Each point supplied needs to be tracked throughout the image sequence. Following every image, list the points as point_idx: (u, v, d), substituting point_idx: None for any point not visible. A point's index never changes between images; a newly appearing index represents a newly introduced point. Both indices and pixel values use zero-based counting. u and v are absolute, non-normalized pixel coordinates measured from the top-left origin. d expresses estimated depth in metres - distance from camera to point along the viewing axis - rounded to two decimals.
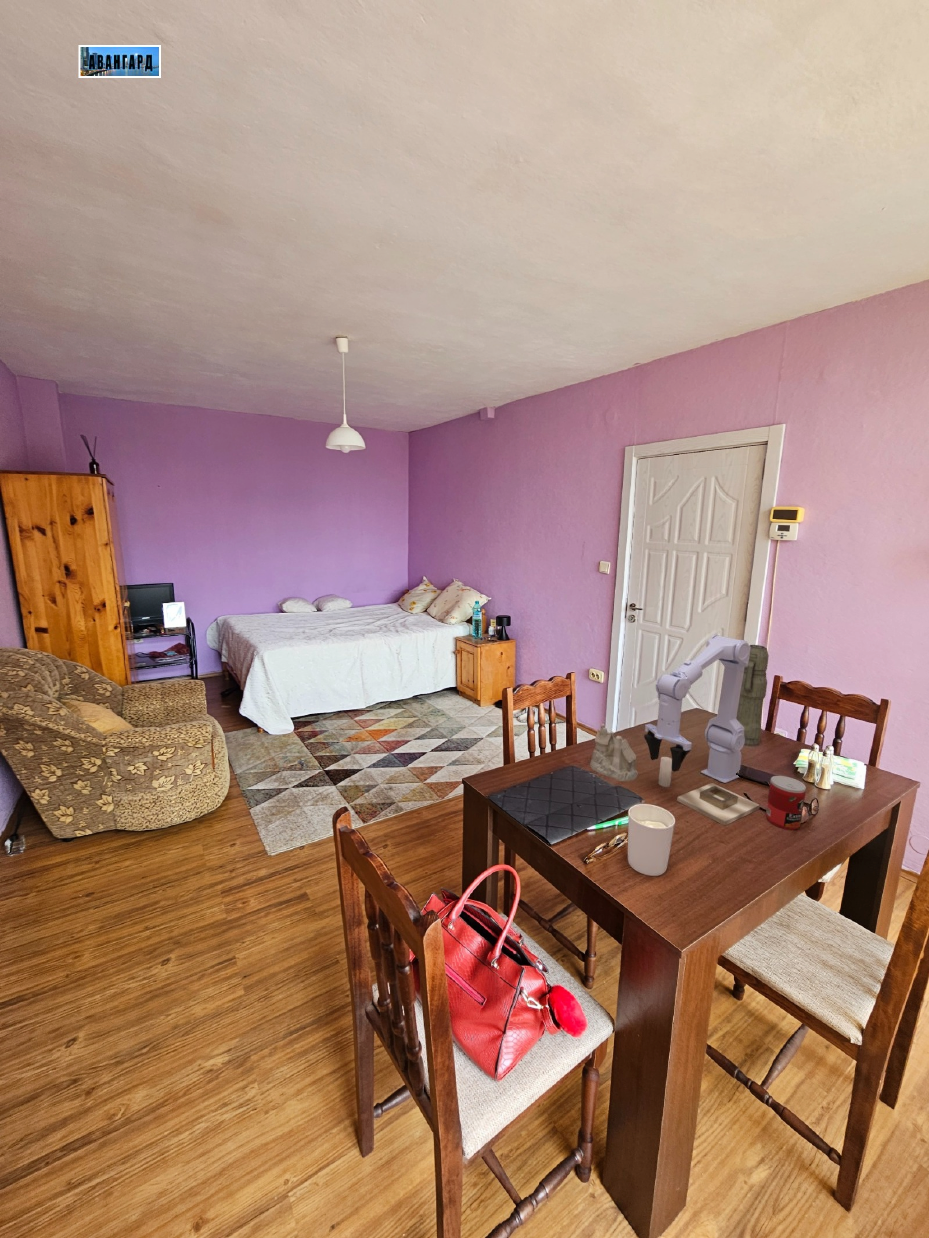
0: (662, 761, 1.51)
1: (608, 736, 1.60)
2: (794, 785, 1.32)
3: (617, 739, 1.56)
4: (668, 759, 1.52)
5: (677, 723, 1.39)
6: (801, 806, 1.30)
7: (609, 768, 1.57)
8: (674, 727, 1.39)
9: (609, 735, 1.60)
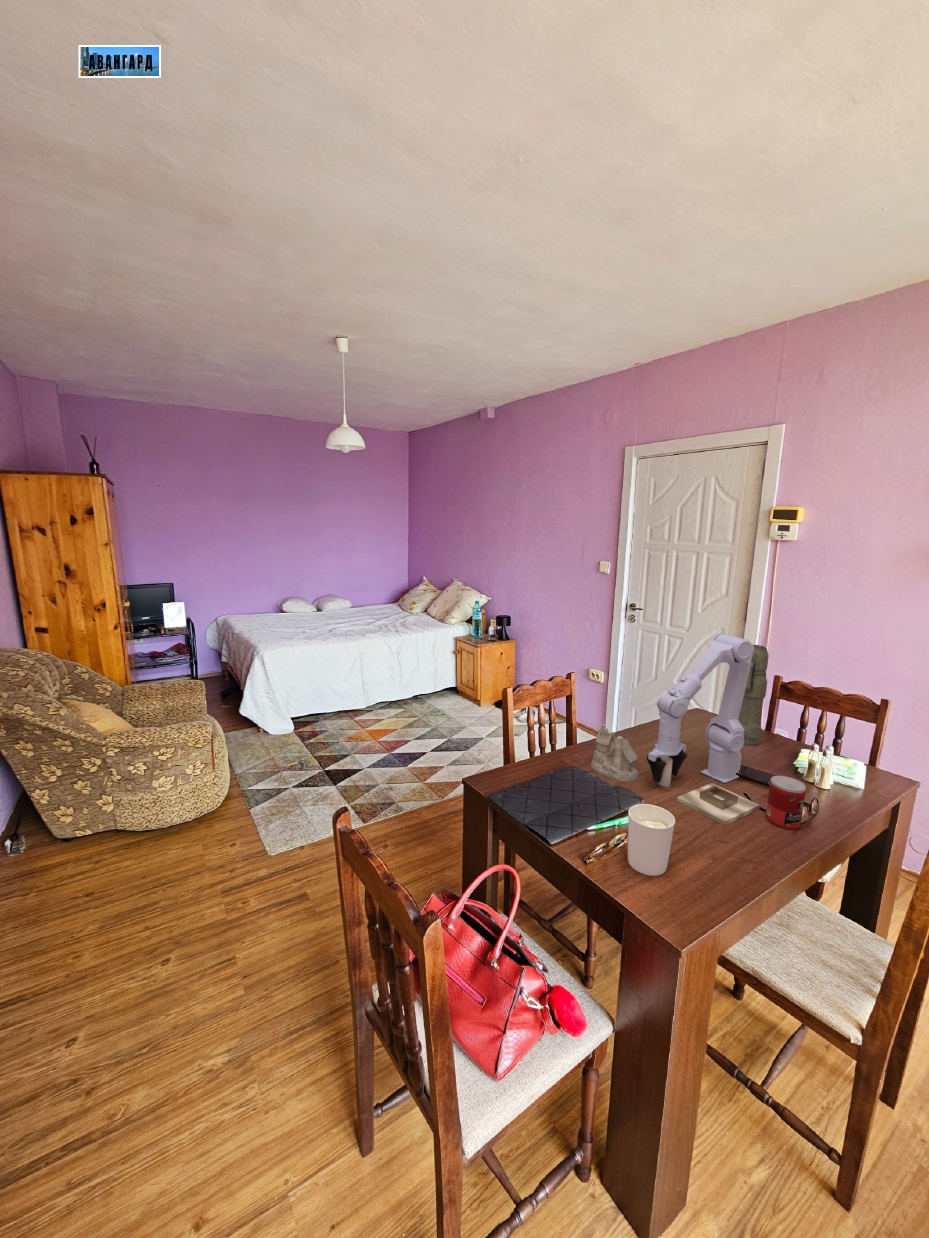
0: None
1: (609, 736, 1.59)
2: (794, 785, 1.32)
3: (618, 739, 1.56)
4: (668, 759, 1.52)
5: (663, 738, 1.49)
6: (801, 806, 1.30)
7: (610, 768, 1.57)
8: (660, 740, 1.50)
9: (610, 735, 1.59)
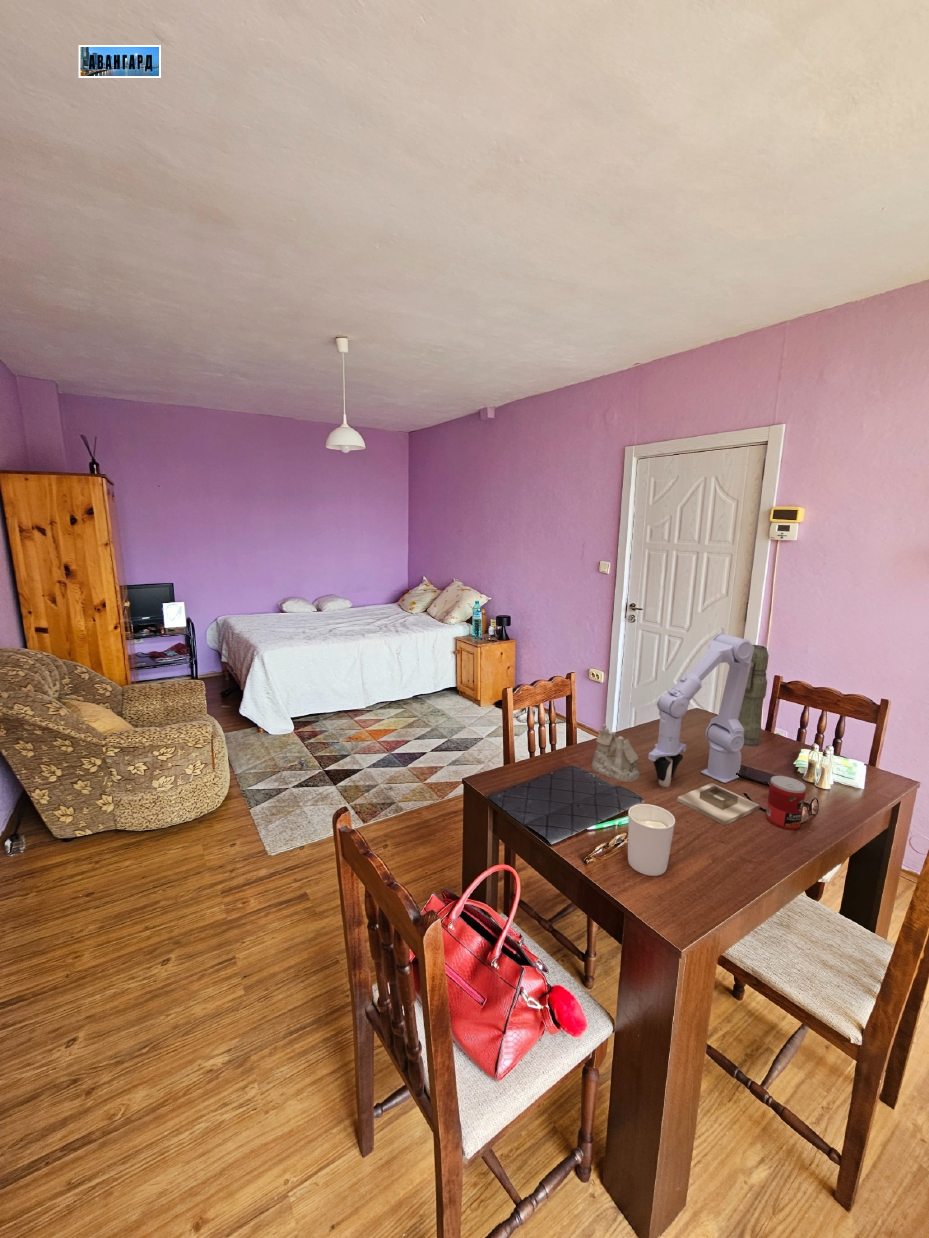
0: None
1: (610, 736, 1.59)
2: (794, 785, 1.32)
3: (619, 739, 1.56)
4: (668, 759, 1.52)
5: (663, 738, 1.49)
6: (801, 806, 1.30)
7: (611, 768, 1.57)
8: (660, 740, 1.50)
9: (611, 735, 1.59)
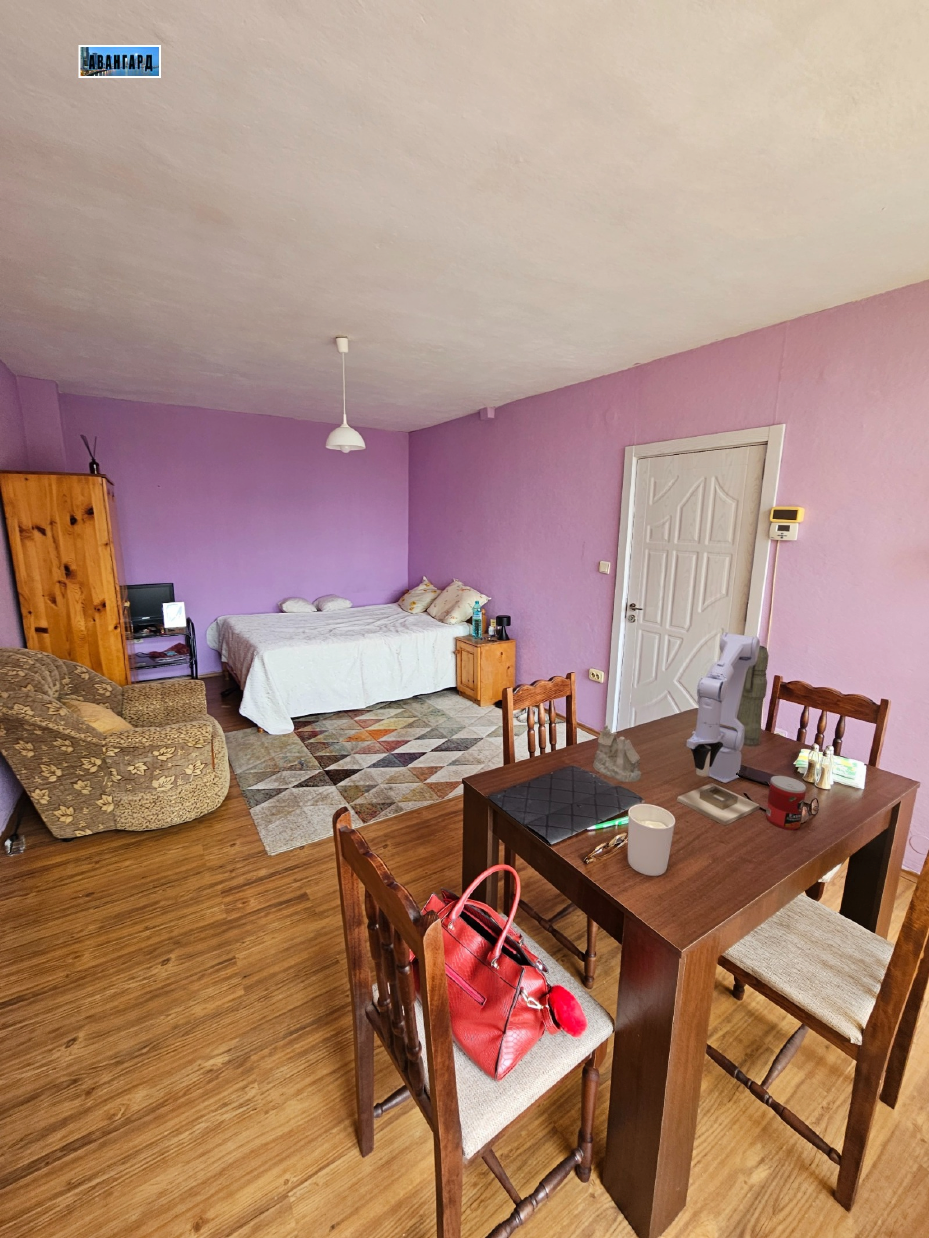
0: None
1: (611, 737, 1.59)
2: (794, 785, 1.32)
3: (620, 740, 1.55)
4: None
5: (702, 724, 1.40)
6: (801, 806, 1.30)
7: (612, 769, 1.57)
8: (699, 726, 1.41)
9: (612, 736, 1.59)
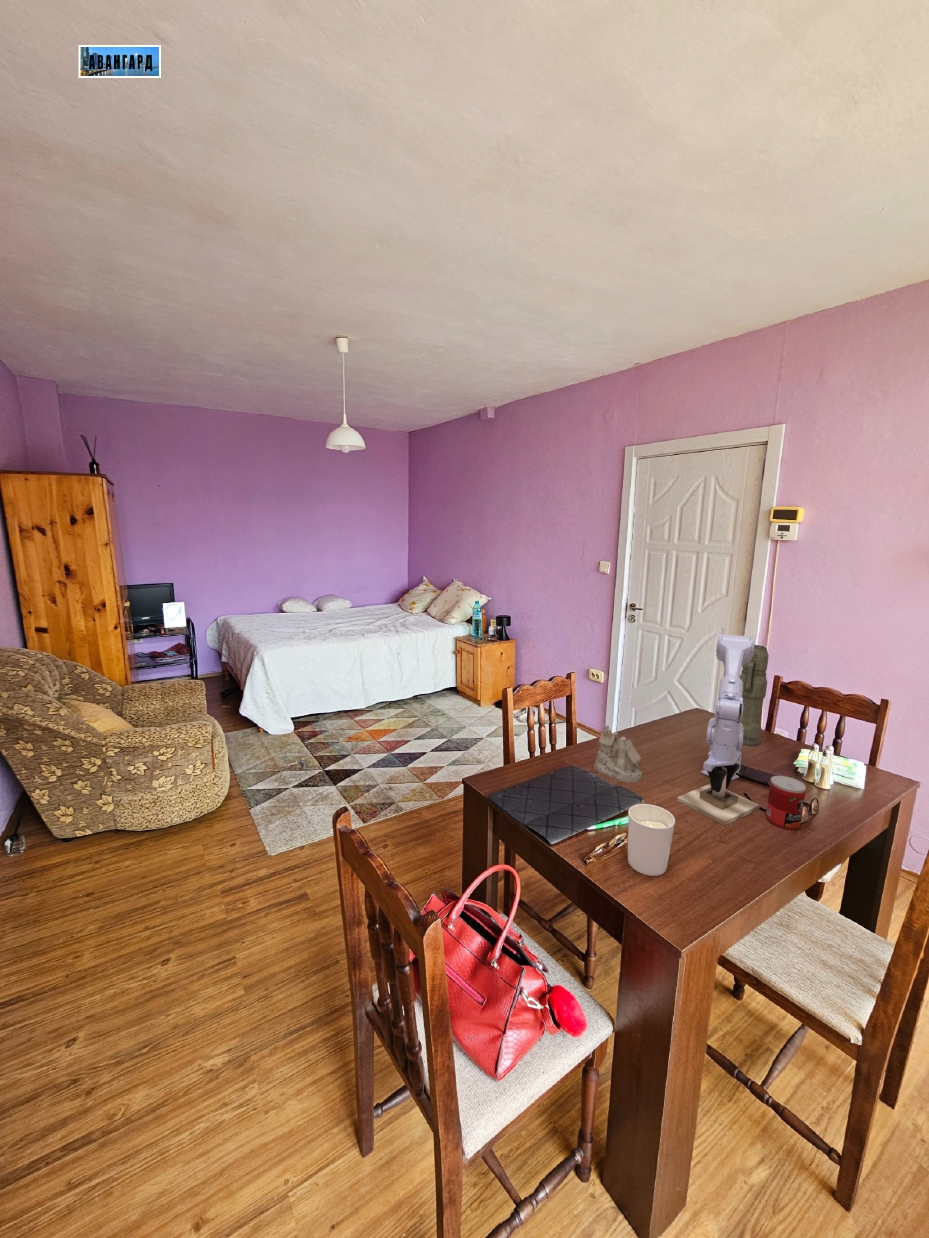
0: None
1: (612, 737, 1.59)
2: (794, 785, 1.32)
3: (622, 740, 1.55)
4: (722, 768, 1.41)
5: (719, 746, 1.38)
6: (801, 806, 1.30)
7: (614, 769, 1.56)
8: (715, 748, 1.38)
9: (613, 736, 1.59)
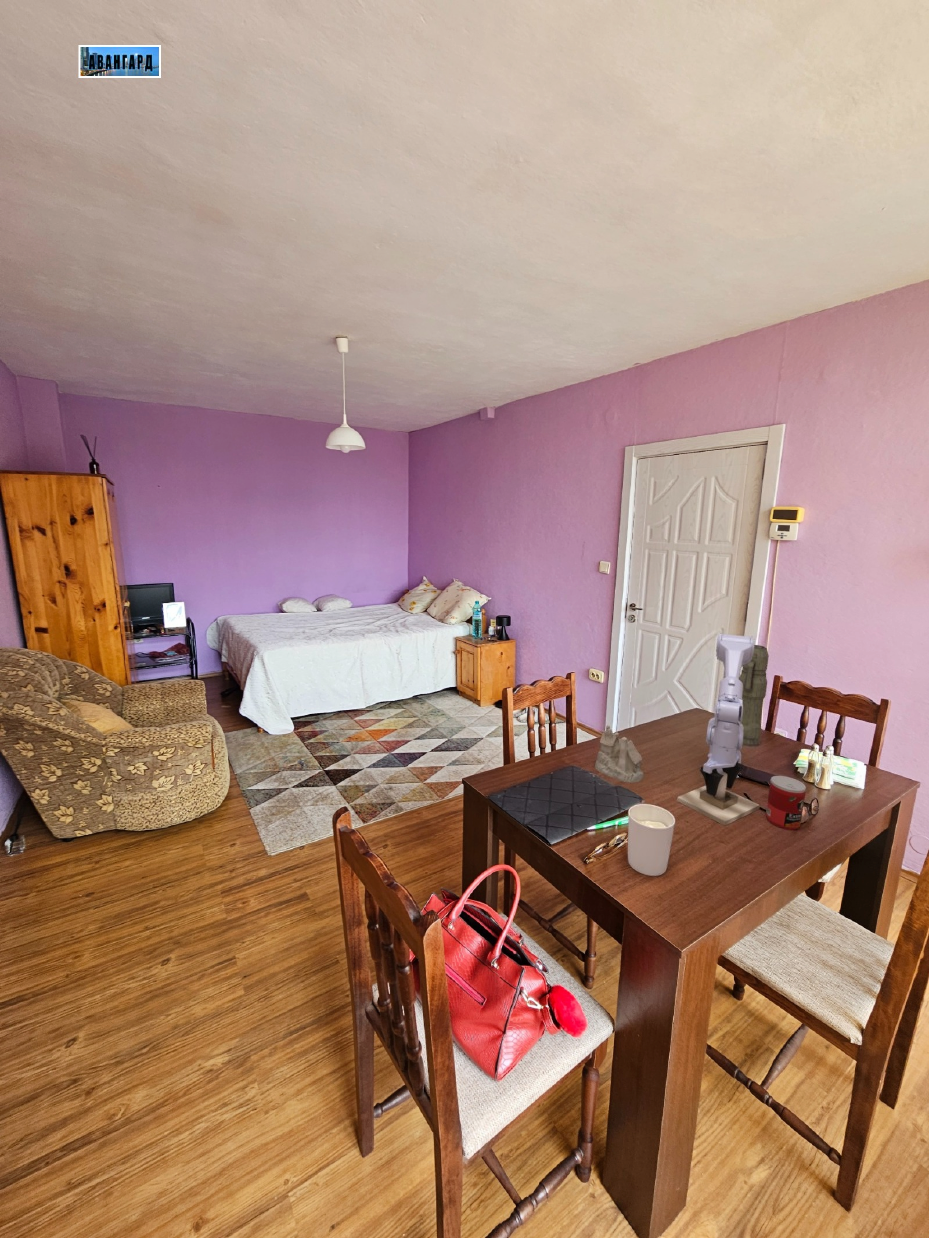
0: None
1: (613, 737, 1.59)
2: (794, 785, 1.32)
3: (623, 740, 1.55)
4: (722, 774, 1.40)
5: (719, 748, 1.38)
6: (801, 806, 1.30)
7: (615, 769, 1.56)
8: (715, 750, 1.39)
9: (614, 736, 1.59)
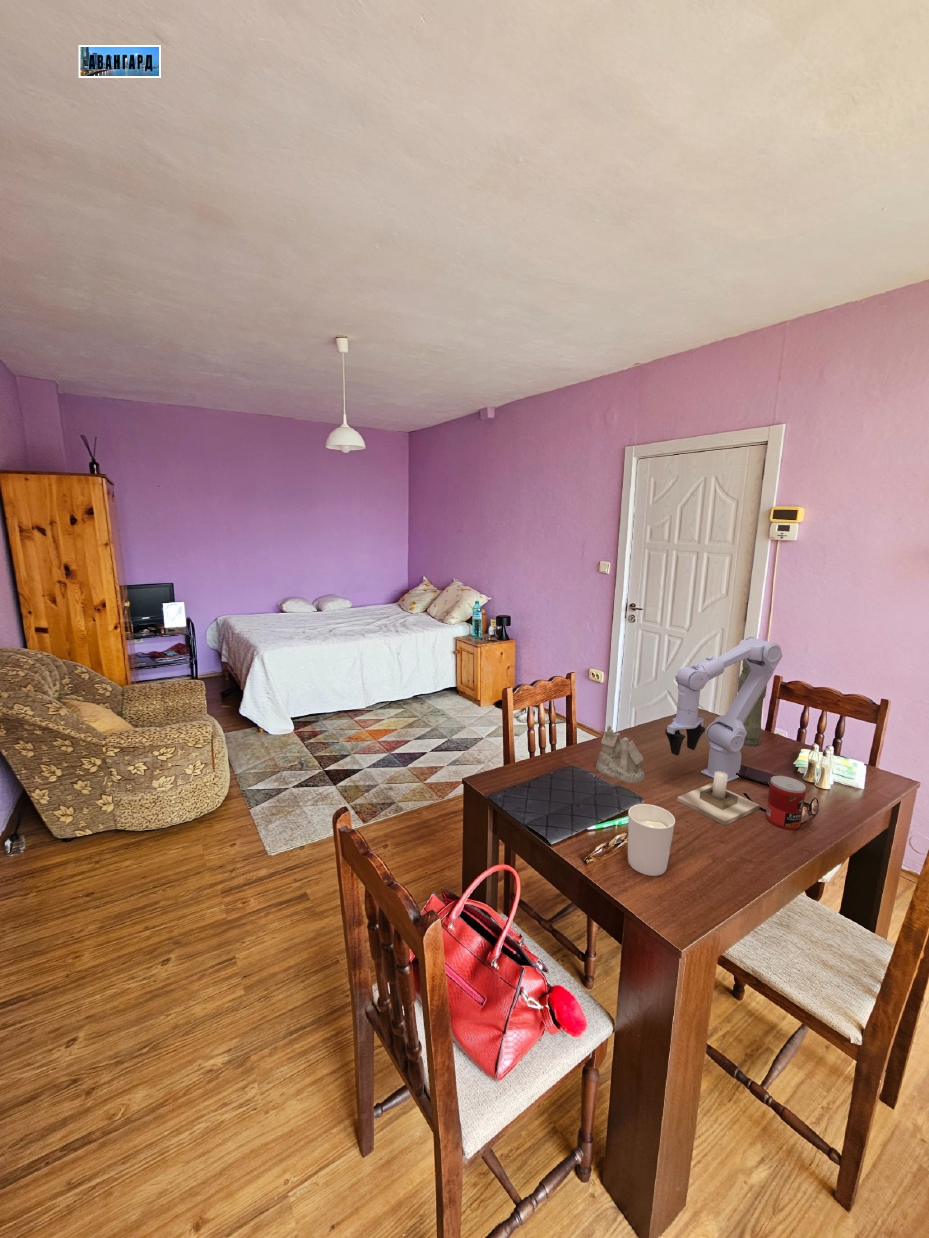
0: (717, 776, 1.40)
1: (615, 738, 1.58)
2: (794, 785, 1.32)
3: (624, 741, 1.55)
4: (723, 774, 1.40)
5: (681, 711, 1.50)
6: (801, 806, 1.30)
7: (616, 770, 1.56)
8: (678, 713, 1.51)
9: (616, 737, 1.58)
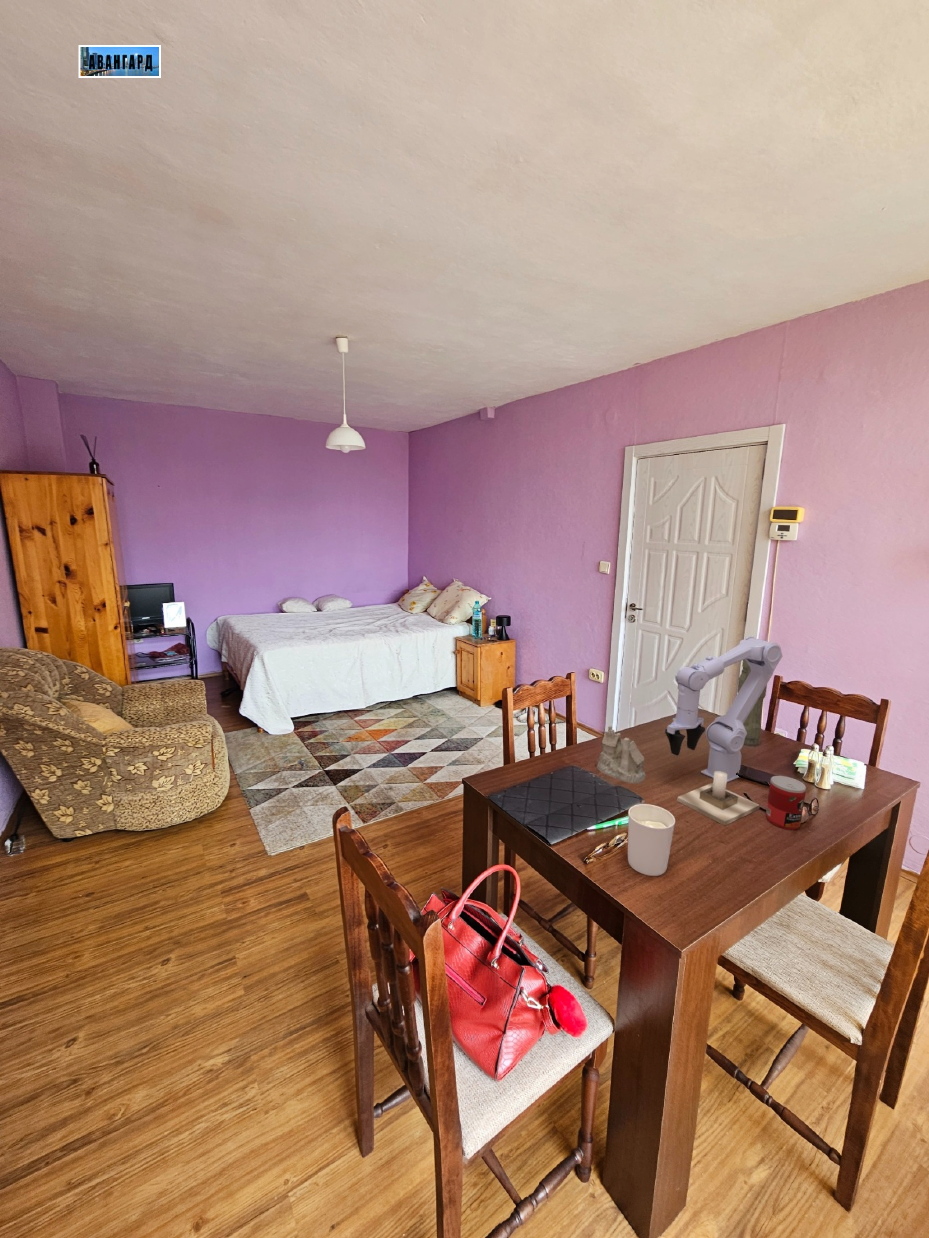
0: (716, 776, 1.40)
1: (616, 738, 1.58)
2: (794, 785, 1.32)
3: (625, 741, 1.55)
4: (722, 774, 1.41)
5: (681, 711, 1.50)
6: (801, 806, 1.30)
7: (617, 770, 1.56)
8: (678, 713, 1.51)
9: (617, 737, 1.58)
